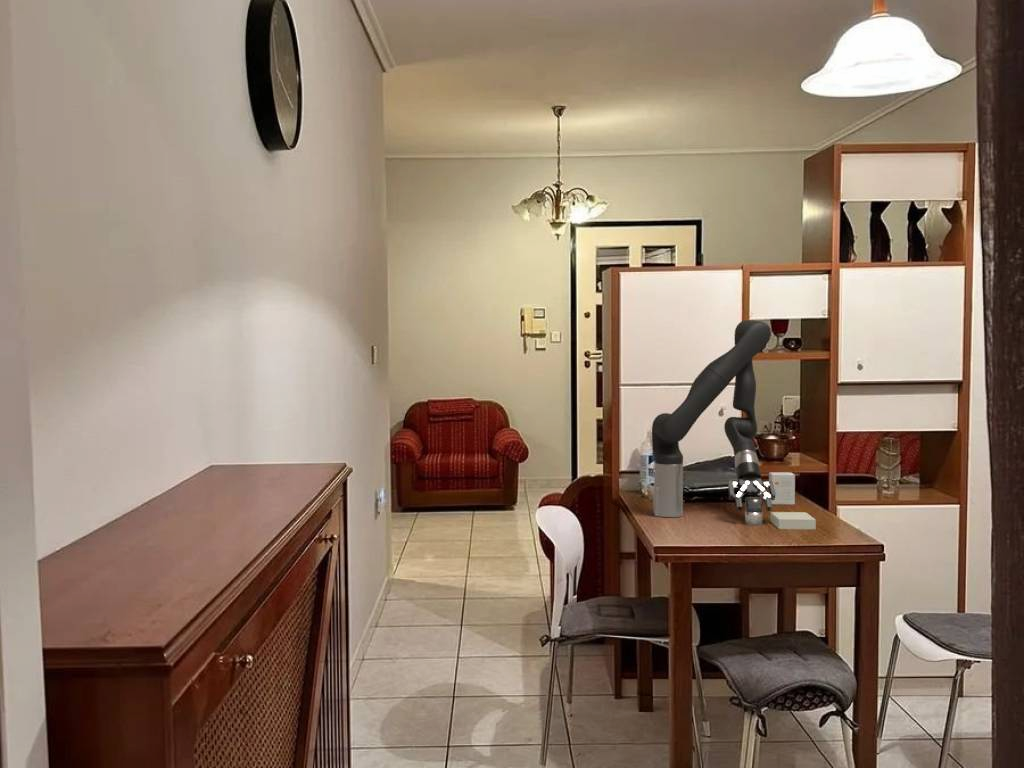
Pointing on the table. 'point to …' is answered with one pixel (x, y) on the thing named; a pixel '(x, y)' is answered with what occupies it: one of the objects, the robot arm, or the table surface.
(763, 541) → the table surface
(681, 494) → the robot arm
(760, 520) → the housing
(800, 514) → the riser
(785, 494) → the small box
